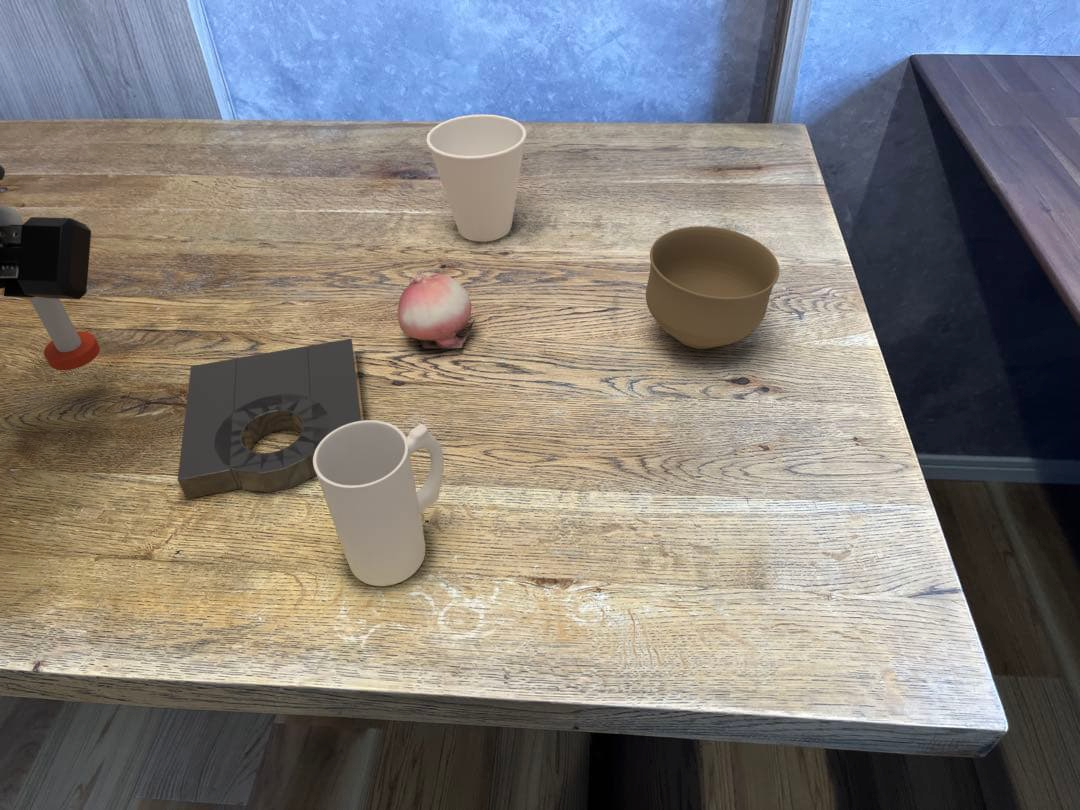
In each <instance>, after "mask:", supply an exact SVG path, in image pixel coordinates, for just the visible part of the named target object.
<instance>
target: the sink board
mask: <svg viewBox="0 0 1080 810" xmlns="http://www.w3.org/2000/svg"><path fill="white" fill-rule="evenodd" d="M188 379H189V380H188V389H187V398H186V406H185V412H184V413H185V414H184V422H183V423H184V424H183V431H182V439H181V440H182V441H181V447H180V457H179V464H178V473H177V482H178V484H179V486H180V489H181V490H182V492H183V494H184V497H185V498H186V499H187V500H189V499H194V498H199V497H205V496H208V495H209V496H210V495H215V494H219V493H225V492H230V491H236V490H241V489H243V490H244V491H249V492H259V493H272V492H273V493H274V492H279V491H283V490H288V489H289V490H290V489H291V488H294V487H296V486H299V485H301V484H302V483H304V482H306V481H309V480H310V479H312V478H313V477H315V476H317V474H316V472H315V469H314V466H313V456H314V453H315V450H316V448H317V446H318V445H319V443H320V442H321V441H322V440H323V439H324V438H325V437H326V436H327V435H328V434H330V433H331V432H332V431H334V430H336V429H337V428H339V427H341V426H344V425H346V424H349V423H353V422H357V421H364V419H365V417H364V410H363V404H362V403H363V402H362V396H361V395H362V394H361V385H360V378H359V370H358V361H357V355H356V350H355V346H354V343H353V339H352V338H346V339H341V340H334V341H330V342H329V341H328V342H321V343H318V344H311V345H304V346H300V347H293V348H288V349H280V350H276V351H270V352H265V353H264V352H263V353H259V354H253V355H246V356H242V357H236V358H230V359H225V360H219V361H213V362H207V363H201V364H196V365H191V366H190V372H189V378H188ZM285 430H286V431H296V432H298V433H300V434H299V436H298V438H297V439H295V440H294V441H293V442H292V443H291V444H290V445H288V446H286V447H284V448H282V449H280V450H276V451H270V452H265V453H264V452H255V451H253V450H252V448H253V446H254V445H255V444H256V443H257V442H258V441H259V440H260V439H262V438H263V437H265V436H267V435H269V434H272V433H274V432H279V431H285Z"/></svg>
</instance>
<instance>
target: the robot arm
mask: <svg viewBox="0 0 1080 810" xmlns="http://www.w3.org/2000/svg"><path fill="white" fill-rule="evenodd" d="M5 175H6V169H5V168H4V166H2V165H1V164H0V181H3V179H4V177H5ZM91 240H92V230H91V229H90V227H89V226H87V224H85V223H83V222H81V221H79V220H76V219H73V218H72V217H46V216H45V217H43V216H41V217H40V216H30V217H29V219H27V220H26V221H25V222H23V225H10V226H0V244H1V245H0V289H3V297H5V298H28V297H29V298H31V297H44V298H54V299H60V300H81V299H82V298H83V297H84V296H85V295H86V294H87V291H88V278H89V277H88V276H89V264H90V255H91V253H90V251H91ZM29 298H28V299H29Z"/></svg>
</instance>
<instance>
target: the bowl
mask: <svg viewBox="0 0 1080 810" xmlns="http://www.w3.org/2000/svg"><path fill="white" fill-rule="evenodd" d="M649 261H650V267H649V274H648V279H647V284H646V288H645V289H646V290H645V301H646V306H647V308H648V311H649V312H650V315H651V316H652V318H653V319H654V321H655V322H656V323H657V324H658V325H659V327H660V328H661V329H662V330H664V332H666V333H667V334H668V335H669V336H671V337H672V338H674V339H676V340H677V341H678V342H679V343H680V344H682V345H684V346H686V347H688V348H689V347H690V348H691V349H692V348H693V349H695V350H708V349H714V348H716V347H722V346H727V345H731V344H733V343H736V342H738V341H740V340H742V339H745V338H746V337H747V336H749V335H751V334H752V333H753V332H754V331H756V330H757V329H758V328H759V327H760V325H761V324H762V322H763V321H764V318H765V316H766V313H767V309H768V305H769V300H770V297H771V294H772V292H773V288H774V287H775V285H776V284H777V282H778V280H779V278H780V277H779V276H780V265H779V262H778V260H777V258H776V256H775V255H774V254H773V253H772V251H771V250H770V249H769V248H768V247H766V246H765V245H764V244H763V243H761V242H759V241H758V240H756V239H754V238H753V237H750V236H748V235H746V234H744V233H741V232H738V231H736V230H731V229H729V228H728V229H726V228H722V227H716V226H707V225H705V226H703V225H699V226H698V225H697V226H687V227H681V228H676V229H673V230H671V231H668V232H665V233H664V234H662V235H661V236H659V237H658V238H657V239H656V240H655V241H654V242H653V244H652V245H651V248H650V251H649Z"/></svg>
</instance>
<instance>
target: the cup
mask: <svg viewBox="0 0 1080 810" xmlns="http://www.w3.org/2000/svg"><path fill="white" fill-rule="evenodd" d="M526 139H527V129H526V128H525V127H524V126H523V124H522V123H520V122H518V121H517V120H515V119H513V118H510V117H507V116H502V115H497V114H487V113H486V114H469V115H462V116H456V117H454V118H450V119H447V120H444V121H443V122H440V123H438V124H436V125H435V126H434V127H432V128H431V129H430V131H429V132H428V133H427V135H426V139H425V142H426V146H427V147H428V149H429V151H430V154H431V157H432V161H433V163H434V166H435V168H436V171H437V174H438V177H439V179H440V182H441V185H442V188H443V191H444V193H445V198H446V200H447V203H448V205H449V208H450V211H451V214H452V217H453V220H454V222H455V225H456V228H457V231H458V234H459V235H460V236H461V237H462V238H464V239H466V240H469V241H472V242H477V243H479V242H480V243H483V242H484V243H485V242H492V241H497V240H499V239H502V238H504V237H505V236H507V235H508V234H509V233H510V232H511V230H512V225H513V219H514V213H515V207H516V200H517V195H518V187H519V181H520V177H521V176H520V175H521V169H522V162H523V157H524V156H523V155H524V149H525V144H526Z"/></svg>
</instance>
